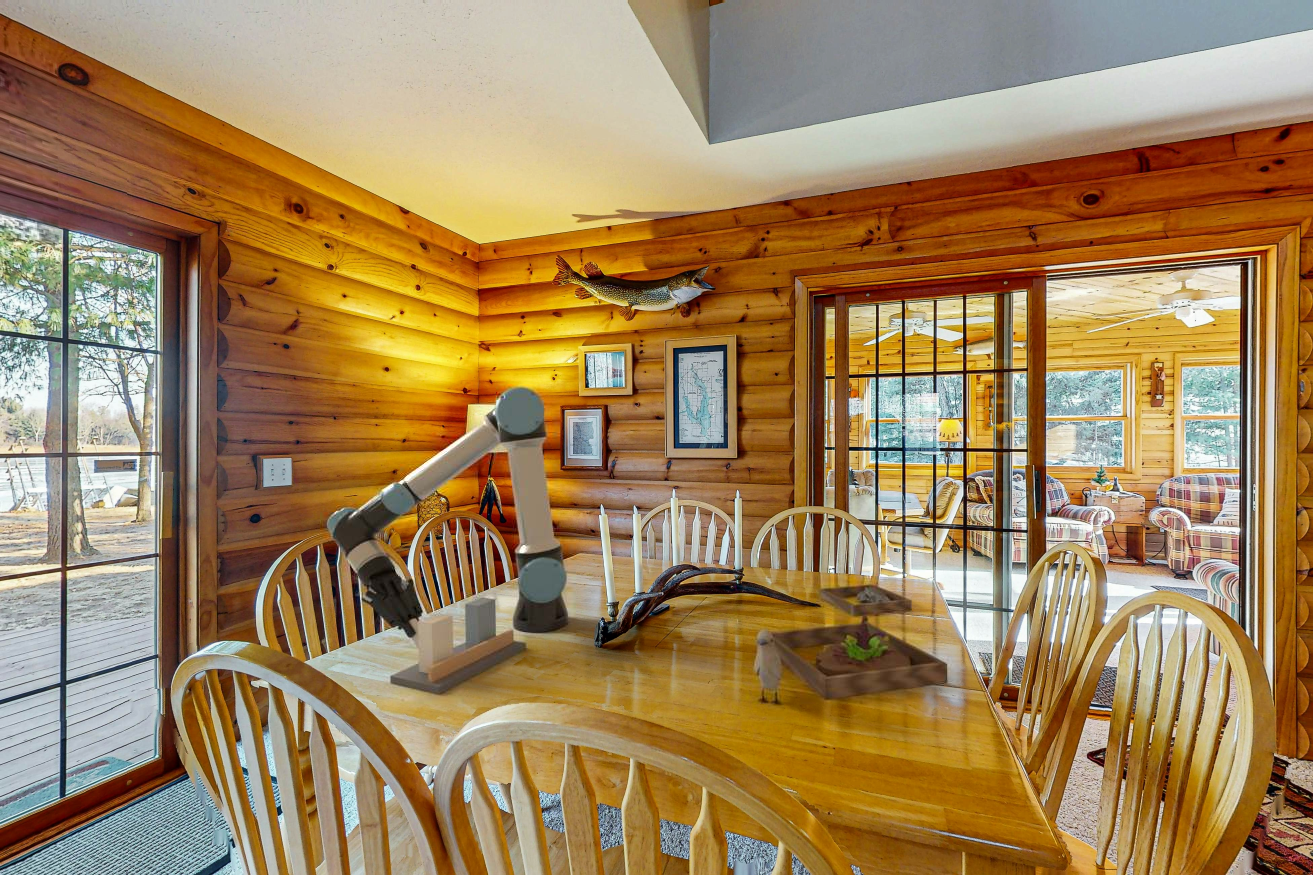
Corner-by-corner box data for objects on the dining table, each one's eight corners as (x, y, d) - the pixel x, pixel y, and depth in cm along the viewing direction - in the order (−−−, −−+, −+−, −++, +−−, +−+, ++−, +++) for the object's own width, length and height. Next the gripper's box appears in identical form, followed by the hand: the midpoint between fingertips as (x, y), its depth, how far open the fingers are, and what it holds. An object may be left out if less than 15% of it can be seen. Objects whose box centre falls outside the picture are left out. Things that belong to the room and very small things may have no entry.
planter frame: (867, 637, 150) (867, 622, 150) (947, 682, 123) (947, 663, 123) (764, 649, 143) (764, 632, 143) (825, 699, 116) (825, 679, 116)
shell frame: (872, 593, 191) (872, 584, 191) (911, 610, 172) (911, 600, 172) (818, 598, 186) (818, 588, 186) (853, 616, 168) (853, 605, 167)
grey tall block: (465, 649, 141) (465, 603, 141) (483, 641, 147) (482, 597, 147) (478, 652, 140) (478, 605, 140) (496, 643, 145) (495, 599, 145)
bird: (748, 715, 110) (747, 634, 110) (763, 686, 122) (762, 613, 122) (775, 720, 108) (774, 637, 108) (787, 689, 121) (786, 616, 120)
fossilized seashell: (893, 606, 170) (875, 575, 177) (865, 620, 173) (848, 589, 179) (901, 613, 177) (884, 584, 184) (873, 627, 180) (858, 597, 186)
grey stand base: (390, 682, 127) (390, 661, 127) (482, 640, 152) (481, 623, 152) (439, 694, 121) (438, 672, 121) (526, 648, 146) (525, 630, 146)
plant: (920, 662, 135) (919, 613, 134) (904, 695, 118) (904, 639, 118) (831, 646, 145) (831, 601, 145) (806, 674, 129) (805, 623, 129)
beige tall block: (419, 671, 129) (418, 620, 129) (440, 661, 134) (439, 613, 134) (432, 674, 127) (431, 623, 127) (453, 664, 132) (452, 615, 132)
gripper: (387, 569, 146) (439, 646, 139) (339, 581, 134) (392, 666, 127) (402, 549, 144) (455, 626, 137) (354, 559, 132) (409, 645, 125)
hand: (425, 645), depth 132 cm, fingers closed
